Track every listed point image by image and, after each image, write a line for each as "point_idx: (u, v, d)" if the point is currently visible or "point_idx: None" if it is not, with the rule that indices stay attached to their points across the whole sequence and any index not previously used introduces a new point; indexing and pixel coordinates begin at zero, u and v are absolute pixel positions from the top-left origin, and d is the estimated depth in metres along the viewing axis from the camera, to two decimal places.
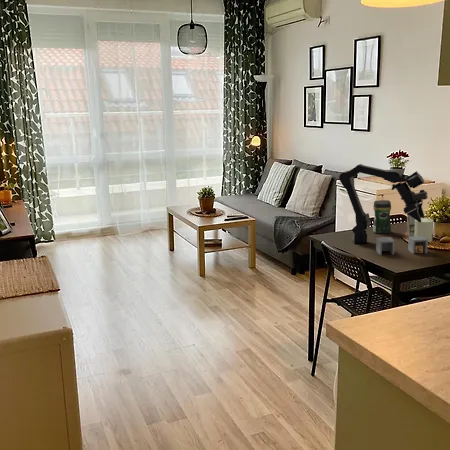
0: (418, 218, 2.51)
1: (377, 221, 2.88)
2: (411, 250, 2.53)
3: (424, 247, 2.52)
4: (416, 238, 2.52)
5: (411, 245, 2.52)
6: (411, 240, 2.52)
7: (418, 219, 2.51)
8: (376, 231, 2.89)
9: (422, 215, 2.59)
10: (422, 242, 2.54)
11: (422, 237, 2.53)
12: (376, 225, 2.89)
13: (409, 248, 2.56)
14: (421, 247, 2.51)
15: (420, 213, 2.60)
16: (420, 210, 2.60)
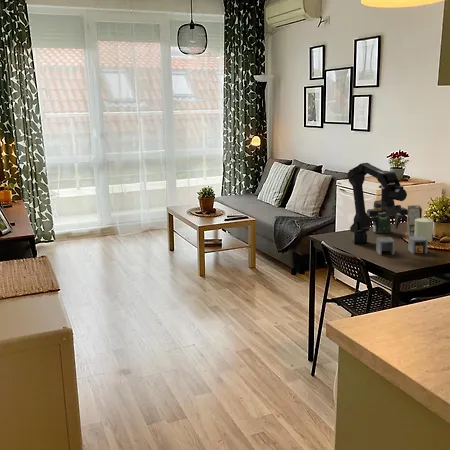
0: (376, 225, 2.51)
1: None
2: (411, 250, 2.53)
3: (424, 247, 2.52)
4: (416, 238, 2.52)
5: (411, 245, 2.52)
6: (411, 240, 2.52)
7: (376, 226, 2.52)
8: (376, 231, 2.89)
9: (395, 226, 2.52)
10: (422, 242, 2.54)
11: (422, 237, 2.53)
12: None
13: (409, 248, 2.56)
14: (421, 247, 2.51)
15: (396, 223, 2.52)
16: (396, 220, 2.51)
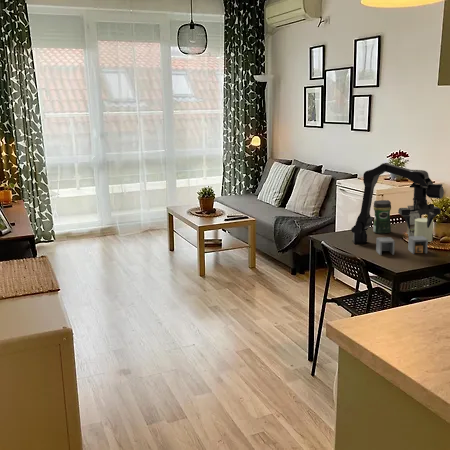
0: (407, 224, 2.51)
1: (377, 221, 2.88)
2: (411, 250, 2.53)
3: (424, 247, 2.52)
4: (416, 238, 2.52)
5: (411, 245, 2.52)
6: (411, 240, 2.52)
7: (407, 225, 2.51)
8: (376, 231, 2.89)
9: (427, 225, 2.51)
10: (422, 242, 2.54)
11: (422, 237, 2.53)
12: (376, 225, 2.89)
13: (409, 248, 2.56)
14: (421, 247, 2.51)
15: (428, 222, 2.51)
16: (429, 219, 2.50)
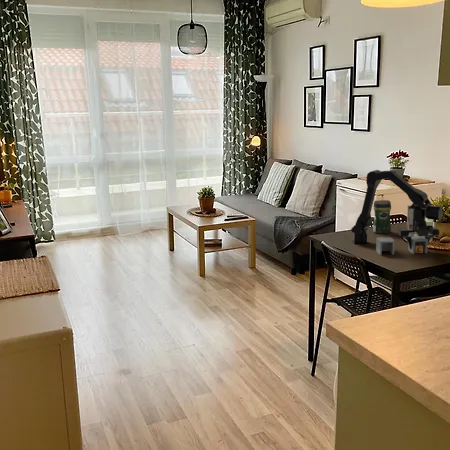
0: (408, 245, 2.53)
1: (377, 221, 2.88)
2: (411, 250, 2.53)
3: (424, 247, 2.52)
4: (416, 238, 2.52)
5: (411, 245, 2.52)
6: (411, 240, 2.52)
7: (408, 245, 2.54)
8: (376, 231, 2.89)
9: None
10: (422, 242, 2.54)
11: (422, 237, 2.53)
12: (376, 225, 2.89)
13: (409, 248, 2.56)
14: (421, 247, 2.51)
15: None
16: None
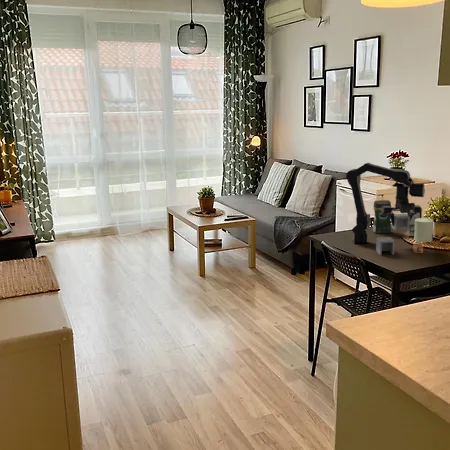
0: (391, 222, 2.61)
1: (377, 221, 2.88)
2: (394, 227, 2.60)
3: (406, 224, 2.59)
4: (399, 215, 2.59)
5: (394, 222, 2.60)
6: (394, 217, 2.60)
7: (391, 222, 2.61)
8: (376, 231, 2.89)
9: None
10: (405, 219, 2.62)
11: (405, 214, 2.60)
12: (376, 225, 2.89)
13: None
14: (421, 247, 2.51)
15: None
16: None
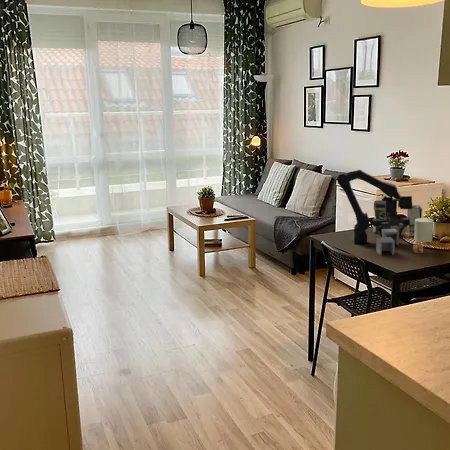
0: (379, 234, 2.69)
1: None
2: None
3: (396, 239, 2.68)
4: (388, 231, 2.68)
5: None
6: (383, 233, 2.68)
7: None
8: (376, 231, 2.89)
9: None
10: (394, 234, 2.70)
11: (394, 230, 2.69)
12: None
13: None
14: (421, 247, 2.51)
15: None
16: (399, 230, 2.68)
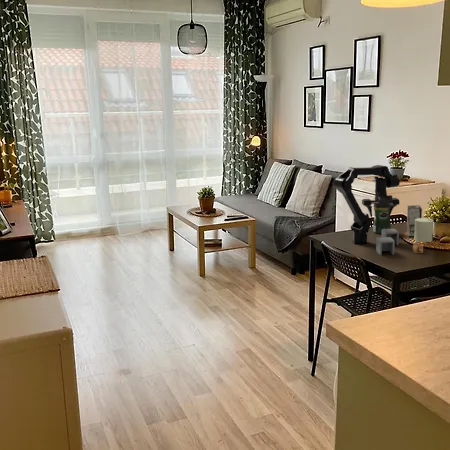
0: (370, 214, 2.76)
1: (377, 221, 2.88)
2: None
3: (396, 239, 2.68)
4: (388, 231, 2.68)
5: None
6: (383, 233, 2.68)
7: (370, 214, 2.77)
8: (376, 231, 2.89)
9: (388, 214, 2.76)
10: (394, 234, 2.70)
11: (394, 230, 2.69)
12: (376, 225, 2.89)
13: None
14: (421, 247, 2.51)
15: (388, 212, 2.76)
16: (389, 209, 2.75)
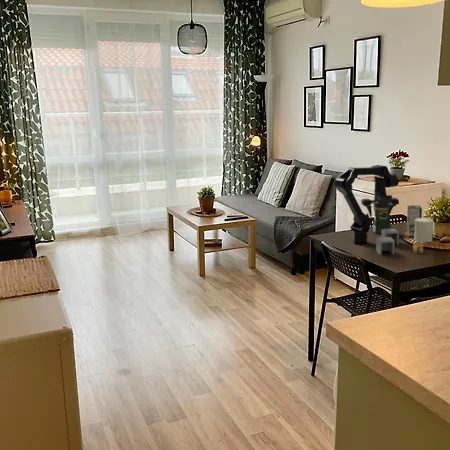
0: (369, 214, 2.77)
1: (377, 221, 2.88)
2: None
3: (396, 239, 2.68)
4: (388, 231, 2.68)
5: None
6: (383, 233, 2.68)
7: (369, 214, 2.77)
8: (376, 231, 2.89)
9: (387, 214, 2.76)
10: (394, 234, 2.70)
11: (394, 230, 2.69)
12: (376, 225, 2.89)
13: None
14: (421, 247, 2.51)
15: (388, 211, 2.77)
16: (388, 209, 2.76)
